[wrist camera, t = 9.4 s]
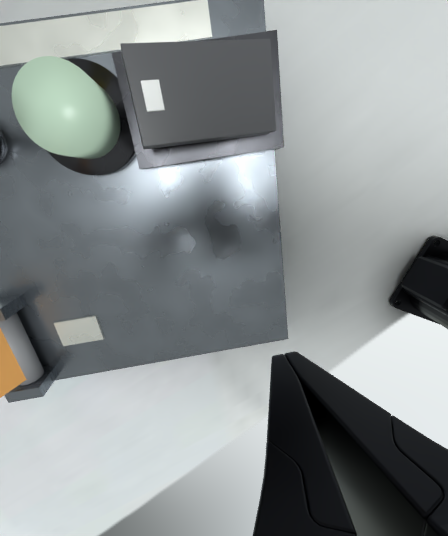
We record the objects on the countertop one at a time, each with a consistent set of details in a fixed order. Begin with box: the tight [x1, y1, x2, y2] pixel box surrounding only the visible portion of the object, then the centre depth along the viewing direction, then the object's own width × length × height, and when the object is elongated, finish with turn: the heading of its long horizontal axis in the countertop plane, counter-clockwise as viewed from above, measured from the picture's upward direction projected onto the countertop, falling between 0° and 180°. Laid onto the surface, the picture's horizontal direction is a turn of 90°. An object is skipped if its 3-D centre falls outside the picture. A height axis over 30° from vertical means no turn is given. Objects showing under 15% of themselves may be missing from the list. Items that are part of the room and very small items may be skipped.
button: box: [12, 56, 120, 159], centre depth 13 cm, size 4×4×2 cm
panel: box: [0, 0, 288, 402], centre depth 17 cm, size 21×22×4 cm
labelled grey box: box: [120, 39, 276, 150], centre depth 13 cm, size 7×4×1 cm, turn 98°
